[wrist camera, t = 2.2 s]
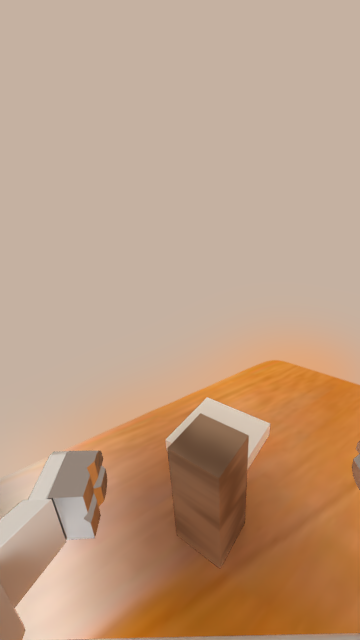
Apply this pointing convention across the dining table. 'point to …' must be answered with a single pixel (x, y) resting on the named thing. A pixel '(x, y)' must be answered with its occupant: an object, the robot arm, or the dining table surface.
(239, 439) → the walnut block
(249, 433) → the off-white board
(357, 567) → the dining table surface
